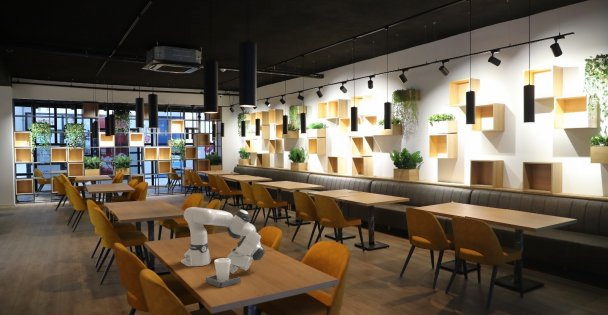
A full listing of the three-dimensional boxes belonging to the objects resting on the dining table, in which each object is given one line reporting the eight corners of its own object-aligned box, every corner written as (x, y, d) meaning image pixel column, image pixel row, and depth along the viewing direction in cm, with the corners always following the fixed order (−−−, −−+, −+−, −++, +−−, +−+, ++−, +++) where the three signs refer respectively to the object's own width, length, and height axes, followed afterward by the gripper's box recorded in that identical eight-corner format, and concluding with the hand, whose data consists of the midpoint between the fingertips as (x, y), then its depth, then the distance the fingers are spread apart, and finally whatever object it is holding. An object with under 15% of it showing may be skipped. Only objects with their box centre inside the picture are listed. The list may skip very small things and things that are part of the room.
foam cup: (218, 285, 241) (218, 263, 241) (212, 281, 249) (212, 259, 249) (233, 282, 247) (233, 260, 246) (227, 278, 254) (226, 257, 254)
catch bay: (206, 282, 247) (206, 277, 247) (225, 276, 257) (225, 272, 257) (220, 287, 237) (220, 282, 237) (240, 282, 247) (240, 277, 247)
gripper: (257, 259, 252) (244, 279, 245) (236, 253, 266) (224, 272, 259) (251, 253, 249) (238, 273, 242) (230, 248, 263) (217, 266, 256)
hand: (230, 272), depth 251 cm, fingers closed, pressing on foam cup
